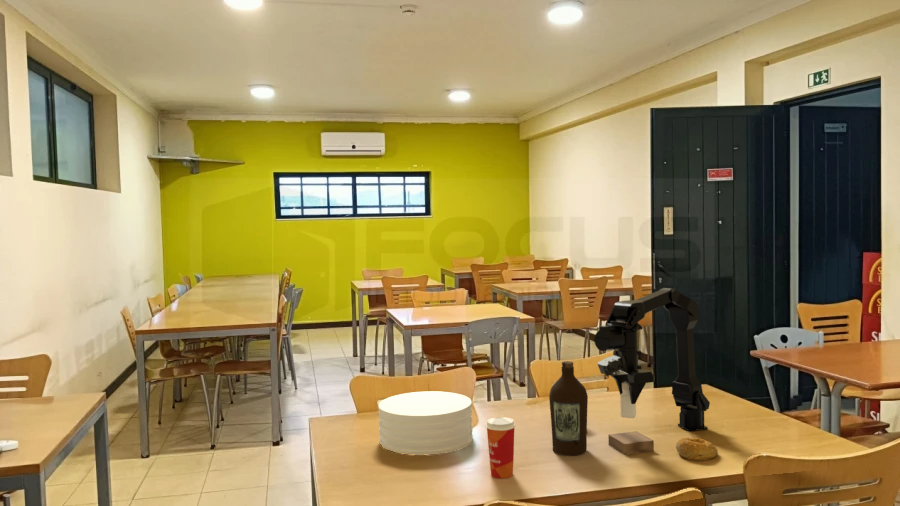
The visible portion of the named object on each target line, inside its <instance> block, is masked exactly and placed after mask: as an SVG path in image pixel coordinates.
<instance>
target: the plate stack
mask: <svg viewBox="0 0 900 506" xmlns="http://www.w3.org/2000/svg"><path fill="white" fill-rule="evenodd" d="M472 406H473V404H472V399H471V398H470V397H468V396H467V395H464V394H461V393H456V392H450V391H440V390H439V391H436V390H434V391H433V390H432V391H430V390H429V391H427V390H426V391H413V392H405V393H400V394H396V395H392V396H389V397H386V398H384V399H383V400H381V401H380V402H379V403H378V406H377V407H378V420H379V421H378V428H379V430H378V431H379V432H378V433H379V445H380V444H381V445H382V446H383V447H384V448H386V449H388V450H391V451H395V452H398V453H405V454H415V455H424V454H438V455H440V454H439V453H445V454H447V453H446V452H450V453H452V452H451V451H454V452H456V451H455V450H457V451H459V450H458V449H460V450H462V449H464V447H465V448H466V447H468V446H469V445H471V443H472V442H473V440H474V439H473V437H474V435H473V418H472V416H473V408H472ZM381 445H380V446H381ZM467 445H468V446H467ZM384 448H383V449H384ZM461 448H462V449H461Z"/></svg>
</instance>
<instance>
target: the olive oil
mask: <svg viewBox="0 0 900 506" xmlns="http://www.w3.org/2000/svg"><path fill="white" fill-rule="evenodd" d="M574 373H575V367H574V361H569V360H568V361H567V360H565V361H562V362H561V375H560V377H559V378H558V379H557V380H556V381H555V382H554V384H553V385H552V386H551V389H550V390H549V395H548V397H549V410H550V411H549V412H550V423H551V426H550V427H551V436H552V437H551V439H552V440H551V441H552V442H551V443H552V452H554V453H555V454H558V455H562V456H568V457H574V456H581V455H583V454H585V453H587V448H588V447H587V446H588V444H587V442H588V440H587V439H588V438H587V437H588V436H587V435H588V432H587V431H588V404H589V403H588V402H589V401H588V399H589V398H588V393H587V389H586V388H585V386H584V385H583V384H582V382H581V381H579V379H578V378H576V376H575V374H574Z"/></svg>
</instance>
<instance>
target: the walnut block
mask: <svg viewBox="0 0 900 506" xmlns="http://www.w3.org/2000/svg"><path fill="white" fill-rule="evenodd" d="M654 443H655V441H654V439H652V438H650V437H648V436H647V435H645V434H643V433H641V432H639V431H637V430H634V431H625V432H619V433H610V434H608V445H609V447H611V448H613V449H615V450H616V451H618V452H620V453H621V454H623V455H625V456H627V455H634V454H641V453H649V452H655V450H654V449H655V448H654V447H655V446H654V445H655V444H654Z"/></svg>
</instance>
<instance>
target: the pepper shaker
mask: <svg viewBox="0 0 900 506" xmlns="http://www.w3.org/2000/svg"><path fill="white" fill-rule="evenodd" d="M619 403H620V417H621V418H623V419H624V418H626V419H634V418H636V416H637V402H636V403H635V404H631V399H630V392H629V386H628V384H627V383H626V382H623V383H622V394H621V395H620V402H619Z"/></svg>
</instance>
